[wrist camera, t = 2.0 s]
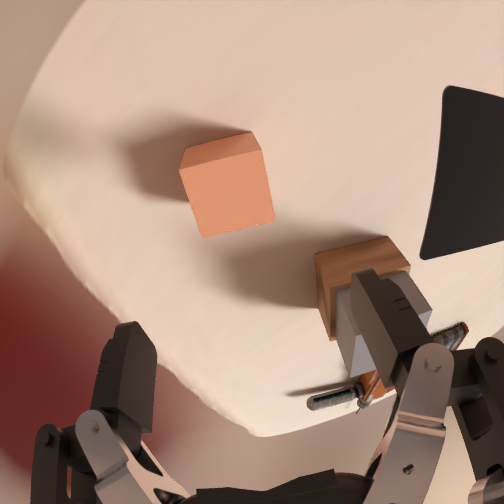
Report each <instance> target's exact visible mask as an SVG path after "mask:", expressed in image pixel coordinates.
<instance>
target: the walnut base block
mask: <svg viewBox="0 0 504 504" xmlns="http://www.w3.org/2000/svg"><path fill="white" fill-rule="evenodd" d="M315 265H316V279H317V294H318V309H319V312H320V314H321V317H322V320H323V323H324V326H325V328H326V331H327V334H328V337H329V340H330V341H334V340H336V291H337V290H341V289H345V288H348V287H351V274H352V273H354V272H357V271H361V270H365V269H368V268H373V269H374V271H375V272H376V274H377V275H378V277H379V278H384V277H387V276H391V275H394V274H397V273H401V272H404V271H406V272H407V273H408V274H409V272H410V267H411V265H410V264H409V262H408V261H407V260H406V258H405V257H404V256H403V254H402V253H401V252H400V251H399V249H398V248H397V247H396V246H395V244H394V243H393V242H392V240H391V239H390V238H389V237H388V236H386V237H382V238H378V239H374V240H370V241H366V242H362V243H358V244H354V245H350V246H346V247H341V248H337V249H333V250H329V251H325V252H321V253H316V254H315Z"/></svg>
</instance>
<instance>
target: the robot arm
mask: <svg viewBox="0 0 504 504" xmlns="http://www.w3.org/2000/svg"><path fill="white" fill-rule="evenodd" d="M350 306H351V311H352V314H353V317H354V319H355V322H356V324H357V326H358V328H359V330H360V332H361V335H362V337H363V339H364V341H365V344H366V346H367V348H368V350H369V353H370V355H371V357H372V359H373V362H374V364H375V366H376V369H377V371H378V374H379V376H380V378H381V381H382V383H383V386H384V388H385V389H386V388H389V387H391V386H394V387H395V390H396V392H397V394H396V398H395V400H394V403H393V406H392V410H391V412H390V415H389V418H388V421H387V424H386V426H385V429H384V432H383V434H382V437H381V439H380V442H379V444H378V446H377V448H376V450H375V452H374V454H373V456H372V458H371V461H370V463H369V465H368V467H367V470H366V472H365V474H364V476H361V475H358V474H353V473H335V472H334V469H331V470H327V471H323V472H319V473H315V474H311V475H306V476H302V477H298V478H296V479H294V480H291V481H289V482H287V483H285V484H282V485H280V486H277V487H275V488H272V489H270V490H267V491H254V490H245V489H237V488H230V487H226V488H209V489H196V491H197V494H196V495H193V496H190V495H189V494H188V493H187V492H186V491H185V489H184V488H182V487H181V486H180V485H179V484H178V483H177V482H175V481H174V480H172V478H170V477H169V475H168V474H167V473H166V472H165V471H164V469H163V468H162V467H161V465H160V464H159V463H158V462H157V460H156V459H155V458H154V456H153V455H152V454H151V452H150V451H149V450H148V448H147V447H146V445H145V444H144V443H143V441H142V440H141V433H152V418H153V417H152V416H153V402H154V389H155V377H156V366H157V352H156V349H155V346H154V344H153V343H152V341H151V340H150V339H149V337H148V336H147V335H146V333H145V332H144V330H143V329H142V327H141V326H140V325H139V323H138V322H136V321H133V322H127V323H122V324H118V325H117V326H116V328H115V332H114V336H113V339H109V341H108V342H107V344H106V345H105V347H104V349H103V351H102V355H101V359H100V364H99V368H98V374H97V377H96V382H95V387H94V392H93V397H92V402H91V407H90V410H88V411H86V412H84V413H83V414H82V415H81V416H80V417H79V418H78V421H77V423H76V425H73V426H70V427H66V428H63V429H59V428H57V427H56V426H54V425H53V424H45V425H43V426H42V427H41V428H40V429H39V431H38V433H37V435H36V441H35V448H34V457H33V466H32V479H31V502H30V504H423V501H424V499H425V497H426V494H427V492H428V489H429V486H430V484H431V481H432V478H433V475H434V473H435V470H436V467H437V464H438V460H439V457H440V454H441V451H442V447H443V444H444V440H445V435H446V427H445V426H444V424H443V421H444V417H445V412H446V407H447V406H452V409H453V411H454V414H455V417H456V419H457V422H458V425H459V428H460V430H461V433H462V436H463V439H464V442H465V445H466V448H467V451H468V454H469V458H470V461H471V464H472V468H473V472H474V475H475V479H476V483H475V484H474V485H473V487H472V488H471V490H470V493H469V496H468V504H504V344H503V343H502V342H501V341H500V340H498V339H496V338H493V337H487V338H483V339H482V340H480V341H479V342H478V344H477V345H476V347H475V348H472V349H464V350H448V349H447V348H446V347H445V346H443V345H441V344H437V343H435V342H434V341H433V339H432V338H431V336H430V334H429V333H428V331H427V329H426V328H425V326H424V324H423V323H422V321H421V319H420V318H419V316H418V315H417V313H416V311H415V310H414V308H412V305H411V303H410V302H409V300H408V299H406V296H405V294H404V293H403V291H402V290H401V288H400V287H399V285H397V284H396V283H394V282H393V281H391V280H390V279H389V278H386V279H382V280H380V278H379V277H378V275H377V274H376V272H375V271H374V269H373V268H368V269H365V270H361V271H357V272H354V273H352V274H351V292H350ZM67 467H69V468H71V469H72V479H71V480H72V481H71V499H70V498H69V497H68V495H67V491H66V488H67Z"/></svg>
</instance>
